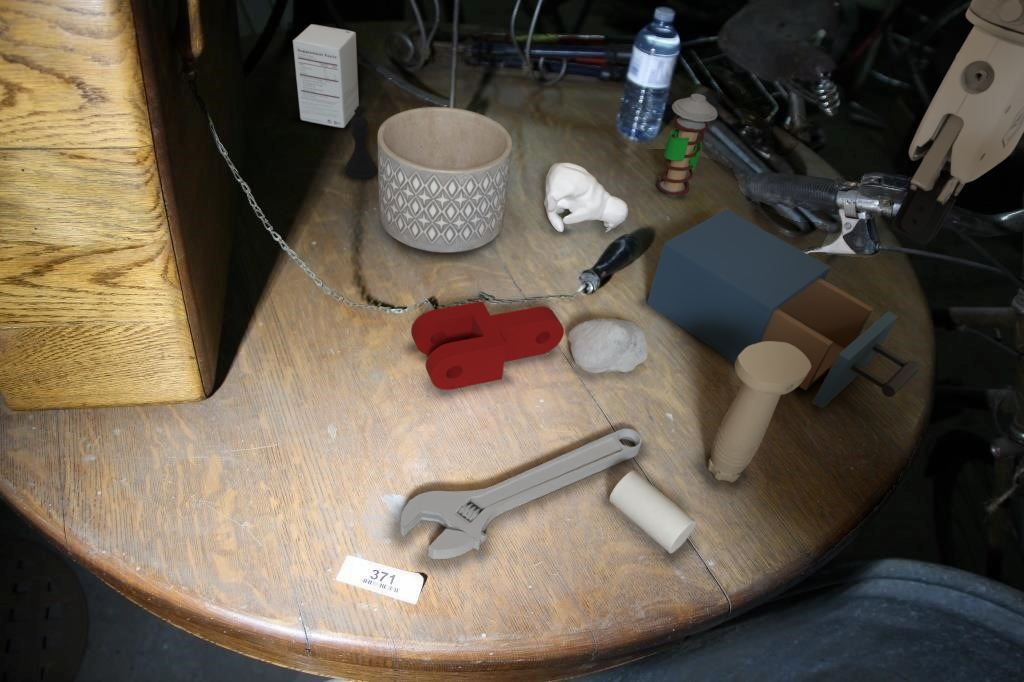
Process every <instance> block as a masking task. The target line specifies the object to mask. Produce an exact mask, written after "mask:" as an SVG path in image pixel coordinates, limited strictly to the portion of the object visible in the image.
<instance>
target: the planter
mask: <svg viewBox="0 0 1024 682" xmlns="http://www.w3.org/2000/svg"><path fill="white" fill-rule="evenodd" d="M512 149H513V140H512V137H511V134H510V133H509V131H507V129H506V128H505V127H504V126H502V125H501V124H500V123H499V122H497V121H495V120H494V119H492V118H490V117H488V116H485V115H483V114H481V113H477V112H474V111H471V110H466V109H463V108H457V107H448V106H426V107H425V106H424V107H418V108H411V109H408V110H404V111H400V112H398V113H396V114H394V115H392V116H390V117H388V118H387V119H386V120H384V122H382V124H381V125H380V126H379V129H378V131H377V168H378V169H377V171H378V174H377V177H378V214H379V216H378V218H379V221H380V224H381V226H382V228H383V229H384V230H385V232H387V234H388V235H390V236H391V237H392V238H394V239H395V240H397V241H399V242H400V243H402V244H404V245H406V246H409V247H411V248H415V249H417V250H422V251H426V252H431V253H439V254H441V253H443V254H444V253H461V252H466V251H471V250H474V249H478V248H481V247H482V246H484V245H487V244H489V243H491V242H492V241H493V240H494V239H496V237H498V235H499V234H500V233H501V231H502V230H503V226H504V221H505V212H506V204H507V203H506V202H507V195H508V185H509V176H510V167H511V159H512Z"/></svg>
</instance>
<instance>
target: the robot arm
mask: <svg viewBox="0 0 1024 682" xmlns="http://www.w3.org/2000/svg"><path fill="white" fill-rule="evenodd" d="M965 19H967V20H968V22H969V23H971V24H973V25H974V26H973V27H972V29H971V30H970V32H969V33H968V35H967V37H966V39H965V41H964V42H963V44H962V46H961V47H960V49H959V51H958V52H957V53H956V55H955V58H954V60H953V62H952V63H951V65H950V67H949V69H948V70H947V72H946V74H945V76H944V77H943V80H942V82H941V84H940V85H939V87H938V89H937V91H936V93H935V95H934V96H933V98H932V100H931V102H930V104H929V106H928V108H927V110H926V112H925V114H924V115H923V117H922V119H921V121H920V123H919V125H918V127H917V129H916V131H915V134H914V136H913V139H912V141H911V144H910V146H909V149H908V157H909V159H910V160H911V161H913V162H916V161H918V160H920V159H922V158H923V159H922V161H921V163H920V165H919V166H918V168H917V170H916V172H915V173H914V175H913V176H912V178H911V181H910V183H909V184H910V186H909V188H908V191H907V192H906V194H905V196H904V198H903V200H902V203H901V204H900V206H899V208H898V210H897V211H896V214H895V216H894V218H893V220H892V222H891V223H890V229H891V230H892V231H893V232H895V233H897V234H899V235H901V236H903V237H905V238H907V239H910V240H911V241H913V242H915V243H917V244H919V245H922V246H924V245H926V244H928V243H929V242H930V241H932V240H933V239H935V238H936V236H937V234H938V233H939V231H940V229H941V227H942V226H943V224H944V222H945V221H946V218H947V217H948V215H949V214H950V212H951V210H952V208H953V206H954V205H955V203H956V201H957V199H958V198H957V197H956V196H958V195H959V194H960V192H961V191H962V189H963V188H964V186H965V184H967V183H970V182H972V181H975V180H977V179H978V178H980V177H981V176H983V175H984V174H986V173H987V172H989V171H990V170H992V169H993V168H995V167H996V166H997V165H998V164H1000V163H1002V162H1003V161H1004V160H1006V159H1007V158H1008V157H1009V156H1010V155H1011V154H1012V152H1014V150H1015V148H1016V147H1017V145H1018V143H1019V141H1020V139H1021V138H1022V136H1023V134H1024V0H971V2H970V5H969V6H968V7H967V10H966V12H965Z"/></svg>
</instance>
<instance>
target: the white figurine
mask: <svg viewBox="0 0 1024 682" xmlns="http://www.w3.org/2000/svg"><path fill="white" fill-rule="evenodd" d="M544 183H545V198H544V202H543V205H544V208H545V211H546V215H547V218H548V220H549V223H550V224H551V226H552V227H553V228H554V229H555V230H556V231H557V232H558V233H562V232H564V229H565V225H571V224H572V225H573V224H576V223H577V224H578V223H581V222H584V221H589V222H591V221H602V222H603V226H604V227H605V233H607V232H609V231H611V230H612V229H615V228H617V226H619V225H620V224H622V223H624V222H625V221H626V220H627V218H628V214H629V208H628V205H627V203H626V202H625V201H624V200H623V199H621V198H619V197H616V196H614V195H611V194H610V193H609V192H608V191H607V190H606V189H605V188H604V186H603V184H601V183H600V182H598V180H597V178H596V177H595V176H594V175H592V174H591V173H590V172H589V171H587V169H585V168H584V167H582V166H581V165H578V164H575V163H571V162H556V163H553V164H552V165H551V166H550V167H549V170H548V172H547V174H546V177H545V182H544ZM565 210H568V211H569V212H570V213H569V214H568V215H565V216H563V218H562V217H561V216H560V215H559V214H563V213H564V212H565Z"/></svg>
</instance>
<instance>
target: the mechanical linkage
mask: <svg viewBox="0 0 1024 682" xmlns="http://www.w3.org/2000/svg"><path fill="white" fill-rule="evenodd" d="M564 330H565V328H564V326H563V324H562V322H561V321H560V320H559V318H558V317H557V315H556V314H555V312H554V310H553V309H552V308H550V307H548V306H534V307H528V308H523V309H518V310H511V311H506V312H501V313H495V314H490V312H489V310H488V308H487V307H486V305H485V303H484V301H483V300H482V301H476V302H470V303H465V304H458V305H453V306H446V307H442V308H434V309H431V310H428V311H426V312H423V313H422V314H421V315H419V316H418V317H417V318H416V319H415V320H414V322H413V323H412V325H411V328H410V333H411V337H412V340H413V342H414V344H415V346H416V349H417V350H418V352H420V353H421V354H422V355H427V356H428V357H427V358H426V362H425V369H426V372H427V374H428V377H429V379H430V381H431V383H432V385H433V386H434V387H435V388H437V389H439V390H445V391H450V390H456V389H461V388H466V387H470V386H475V385H480V384H484V383H485V384H486V383H490V382H494V381H498V380H502V379H503V375H504V367H505V362H510V361H514V360H515V361H516V360H520V359H525V358H531V357H535V356H540V355H543V354H546V353H548V352H550V351H552V350H554V349H555V348H556V347H557V346H558V345H559V344H560V342H561V341H562V340H563V338H564V334H565V331H564Z"/></svg>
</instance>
